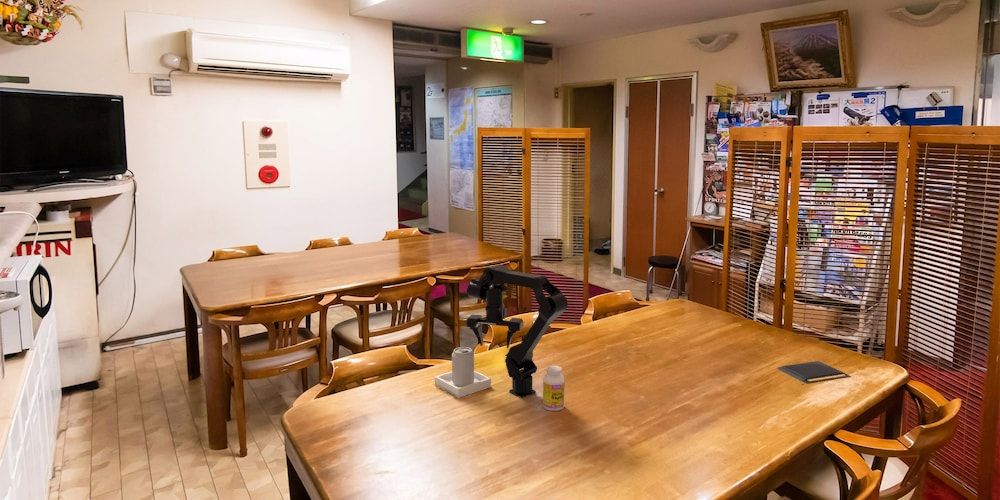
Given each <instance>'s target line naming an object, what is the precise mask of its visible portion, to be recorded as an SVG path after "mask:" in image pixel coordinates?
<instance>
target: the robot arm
mask: <svg viewBox="0 0 1000 500" xmlns="http://www.w3.org/2000/svg"><path fill="white" fill-rule="evenodd" d="M505 284H506V285H505ZM507 284H508V285H513V286H519V287H524V288H528V289H531V290H532V291H533V293H534V297H535V301H536V303H537V304H538V316H537V317H536V319H535V320H534V322H533V324H532V325H531V326H530V328H529V330H528V331H527V333H526V335H525V336H524V338H523V339H522V341H521V342H520V343H518V344H517V343H516V344H515V345H513V346H511V347H510V345H511V343H512V342H511V341H512V339H513V336H514V334H516V333H517V332H520V331H521V330H522V329H523V327H524V320H523V318H520V317H511V318H510V320H505V319H506V318H508V317H507V315H508V307H505V304H504V292H507V291H509V288H508V287H507ZM544 292H546V293H547V294H548V296H546V295H545V293H544ZM466 294H467V296H468V297H469V298H473V299H477V300H480V301H486V302H485V307H484V308H485V318H483V316H482V315H481V314H470V315H469V316H468V317H467V318H466V321H465V327H467V328H469V330H472V332H473V333H474V335H475V337H476V338H477V341H478V343H479V344H480V345H479V346H481V347H483V345H484V340H483V339H484V337H483V325H487V326H500V327H507V328H508V330H507V331H506V348H507V349H509V350H508V352H507V353H506V354H505V355H504V356H505V359H504V362H505V366H506V369H507V373H508V377H509V378H511V379H512V380H511V384H512V385H511V389H509V393H511V394H513V395H515V396H517V397H519V398H525V397H527V396H530V395H533V394H536V393H537V391H536V390H535V389H533V374H535V373H537V371H538V366H537V365H536V363H535V362H534V360H533V357H534V350H535V348H536V347H537V346H538V343H539V342H540V340H541V339H542V337H543V336H544V335H545V333H546V332H547V330H548V328H549V326H551V324H552V322H553V321H555V319H557V318H559V316H561V315H562V314H563V313H564V312H565V311H566V310H567V309H568V307H569V303H568V299H567V297H566V296H565V295H564V294H563V293H562V291H561V290H560V289H559V288H558V287H557V286H556V285H554V284H553V283H552V282H550V280H549V279H548V277H546V275H542V274H541V275H537V274H532V273H526V272H521V271H516V270H511V269H510V268H509V267H508V266H505V265H502V264H494V265H491V266H487V267H485V268H484V270H483V272H482V274H481V276H480V278H478V277H473V278H471V279H470V282H469V284H468V285H467V287H466Z"/></svg>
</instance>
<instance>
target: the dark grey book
mask: <svg viewBox="0 0 1000 500" xmlns="http://www.w3.org/2000/svg"><path fill="white" fill-rule="evenodd" d="M777 370H779V371H780V372H783V373H785V374H787V375H789V376H791V377H793V378H794V379H796V380H798V381H800V382H803V383H804V384H807V385H808V384H814V383H820V382H827V381H832V380H838V379H847V378H852V376H851V375H849V374H847V373H845V372H843V371H841V370H840V369H837V368H835V367H833V366H831V365H829V364H827V363H824V362H821V361H820V360H817V361H810V362H803V363H802V362H801V363H795V364H788V365H782V366H780V367H777Z"/></svg>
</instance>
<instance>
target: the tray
mask: <svg viewBox="0 0 1000 500" xmlns="http://www.w3.org/2000/svg"><path fill="white" fill-rule="evenodd" d="M434 386H436V387H438V388H439V389H442V390H443V391H445V392H447V393H449V394H450V395H452V396H454V397H456V398H458V399H459V398H462V397H465V396H469V395H471V394H474V393H478V392H480V391H483V390H485V389H489V388H492V379H491V377H488V376H487V375H485V374H482V373H480V372H478V371H476V370H475V369H474V382H473V383H472V384H469V385H466V386H463V387H461V386H457V385H455V384H454V383H453V382H452V370H451V371H447V372H445V373H440V374H439V375H435V376H434Z"/></svg>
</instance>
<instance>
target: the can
mask: <svg viewBox="0 0 1000 500" xmlns="http://www.w3.org/2000/svg"><path fill="white" fill-rule="evenodd" d="M474 370H475V353H474V352H473V348H471V347H467V346H459V347H456V348H454V349H453V352H452V353H451V371H452V382H453V383H454V384H455V385H457V386H461V387H463V386H466V385H469V384H472V383H473V382H474Z"/></svg>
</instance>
